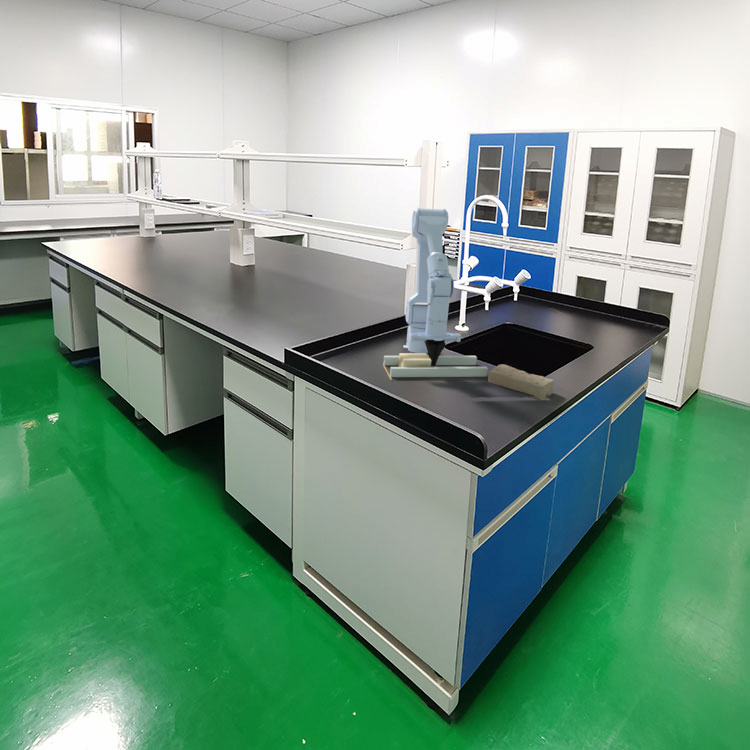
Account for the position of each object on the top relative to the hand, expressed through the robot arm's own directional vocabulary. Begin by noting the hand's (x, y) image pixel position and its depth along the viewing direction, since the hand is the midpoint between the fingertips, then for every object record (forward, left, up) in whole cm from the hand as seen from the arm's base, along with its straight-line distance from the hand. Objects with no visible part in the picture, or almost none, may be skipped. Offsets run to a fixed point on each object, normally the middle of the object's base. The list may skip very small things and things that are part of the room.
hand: (432, 364), depth 172 cm
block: (0, -5, -2) cm, 6 cm away
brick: (+13, +22, -3) cm, 25 cm away
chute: (0, +1, -2) cm, 3 cm away
